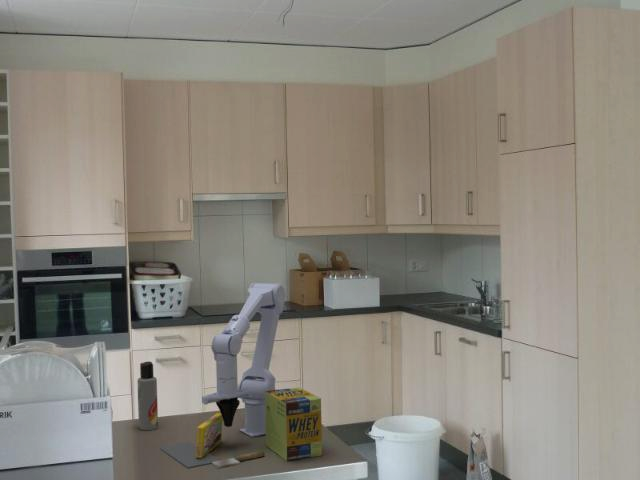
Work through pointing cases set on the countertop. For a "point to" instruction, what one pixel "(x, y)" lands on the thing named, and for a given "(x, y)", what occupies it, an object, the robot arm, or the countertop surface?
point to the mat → (187, 455)
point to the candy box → (208, 435)
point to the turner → (237, 459)
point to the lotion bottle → (147, 398)
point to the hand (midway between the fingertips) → (228, 425)
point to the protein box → (293, 423)
